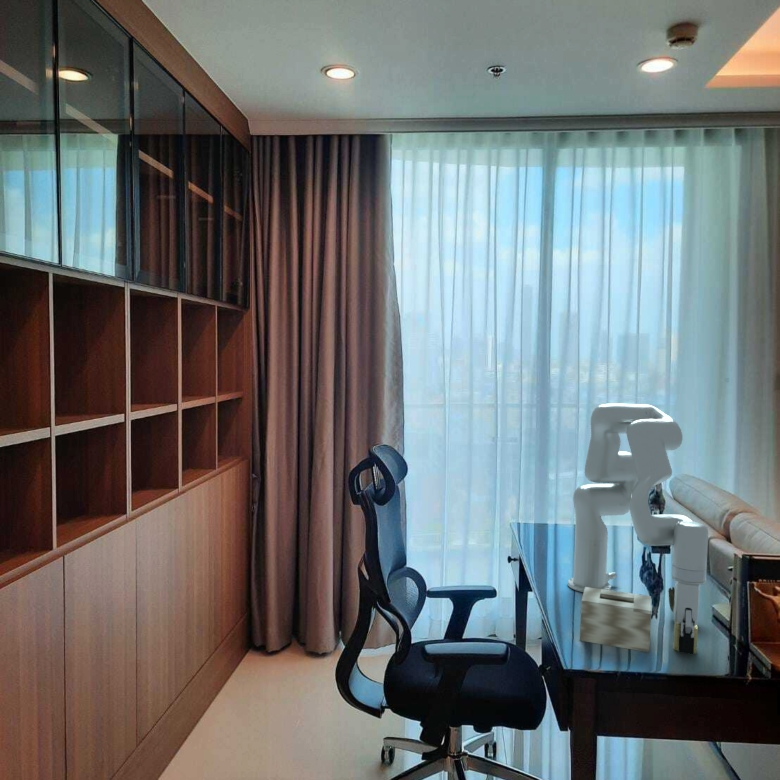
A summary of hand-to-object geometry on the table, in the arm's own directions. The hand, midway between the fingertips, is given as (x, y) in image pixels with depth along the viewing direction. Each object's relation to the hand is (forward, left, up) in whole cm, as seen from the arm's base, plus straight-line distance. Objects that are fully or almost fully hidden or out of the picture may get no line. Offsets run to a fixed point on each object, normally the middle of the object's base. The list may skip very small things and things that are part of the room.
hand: (684, 645), depth 163 cm
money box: (+10, -12, -1) cm, 16 cm away
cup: (-16, -13, -1) cm, 20 cm away
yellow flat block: (0, 0, -1) cm, 1 cm away
